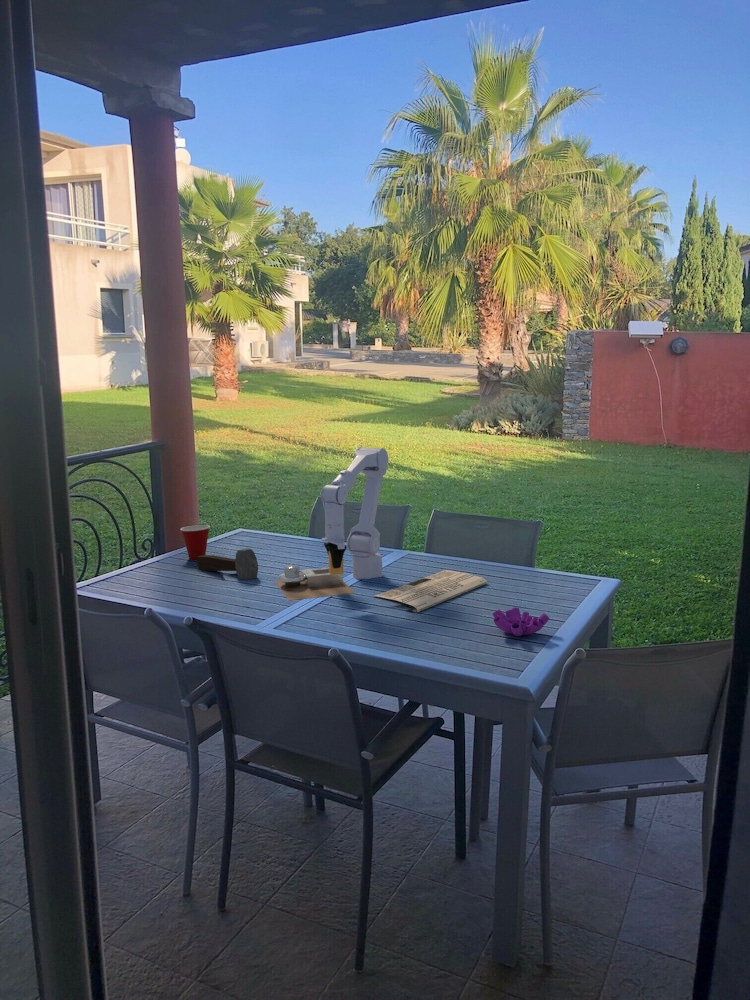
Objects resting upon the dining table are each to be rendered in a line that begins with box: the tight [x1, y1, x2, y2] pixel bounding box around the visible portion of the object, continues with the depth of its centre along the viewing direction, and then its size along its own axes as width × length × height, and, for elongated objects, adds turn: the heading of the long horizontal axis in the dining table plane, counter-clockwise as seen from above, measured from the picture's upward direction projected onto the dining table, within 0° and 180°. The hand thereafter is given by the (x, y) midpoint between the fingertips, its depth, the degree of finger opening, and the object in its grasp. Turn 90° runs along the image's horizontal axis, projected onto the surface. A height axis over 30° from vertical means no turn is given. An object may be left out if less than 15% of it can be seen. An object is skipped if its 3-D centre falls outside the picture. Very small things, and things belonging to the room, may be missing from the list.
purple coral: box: [492, 606, 550, 637], centre depth 209 cm, size 11×15×10 cm
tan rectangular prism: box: [327, 551, 344, 575], centre depth 243 cm, size 4×2×7 cm, turn 109°
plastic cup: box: [179, 524, 211, 561], centre depth 290 cm, size 11×11×12 cm
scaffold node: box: [278, 564, 344, 587], centre depth 252 cm, size 20×9×6 cm, turn 109°
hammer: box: [196, 547, 259, 581], centre depth 267 cm, size 5×11×30 cm
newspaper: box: [372, 569, 488, 614], centre depth 246 cm, size 37×19×3 cm, turn 139°
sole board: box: [274, 579, 356, 602], centre depth 249 cm, size 21×22×2 cm
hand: (335, 566), depth 244 cm, fingers closed on tan rectangular prism, 2 cm apart
